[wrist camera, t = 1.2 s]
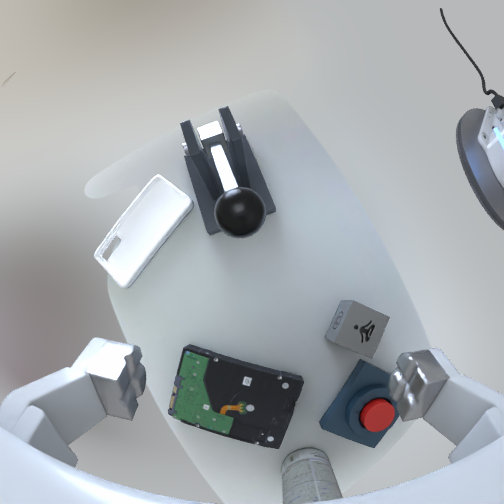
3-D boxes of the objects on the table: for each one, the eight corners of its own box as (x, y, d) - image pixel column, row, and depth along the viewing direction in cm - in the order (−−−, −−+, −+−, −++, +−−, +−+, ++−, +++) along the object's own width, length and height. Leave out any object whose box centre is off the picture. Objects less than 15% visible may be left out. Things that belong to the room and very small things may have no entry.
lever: (276, 237, 20) (268, 202, 17) (228, 254, 20) (212, 223, 17) (231, 141, 28) (222, 113, 25) (199, 152, 28) (188, 125, 25)
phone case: (127, 290, 35) (196, 204, 36) (123, 289, 33) (193, 200, 35) (97, 256, 36) (160, 176, 37) (92, 255, 35) (157, 172, 36)
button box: (360, 358, 31) (370, 365, 27) (408, 383, 30) (422, 390, 26) (318, 421, 30) (324, 434, 26) (369, 441, 29) (378, 454, 25)
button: (372, 393, 27) (377, 398, 25) (395, 404, 27) (401, 408, 25) (353, 421, 27) (357, 426, 25) (377, 430, 26) (382, 435, 24)
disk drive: (302, 373, 32) (188, 342, 33) (305, 379, 29) (181, 345, 30) (279, 440, 30) (172, 410, 31) (280, 450, 27) (165, 418, 29)
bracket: (275, 211, 35) (278, 164, 23) (209, 235, 35) (178, 200, 23) (245, 139, 38) (235, 77, 25) (186, 160, 38) (155, 106, 25)
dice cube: (358, 351, 32) (371, 358, 27) (324, 337, 32) (333, 343, 27) (374, 315, 32) (389, 317, 27) (341, 300, 33) (352, 300, 28)
